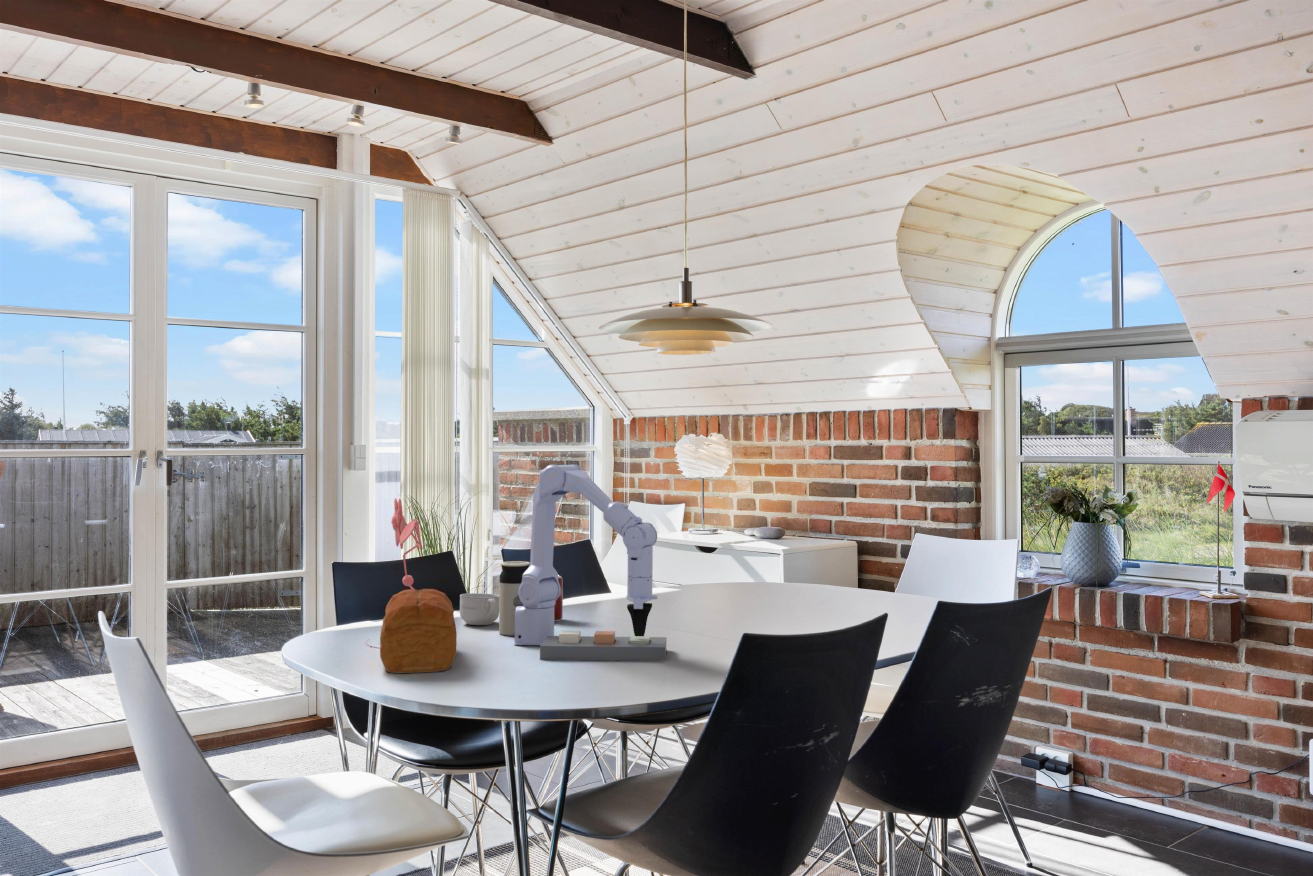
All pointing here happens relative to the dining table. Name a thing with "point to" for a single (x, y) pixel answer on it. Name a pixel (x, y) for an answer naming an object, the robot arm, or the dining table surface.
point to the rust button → (604, 637)
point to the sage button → (639, 640)
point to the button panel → (603, 649)
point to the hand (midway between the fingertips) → (639, 635)
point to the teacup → (479, 608)
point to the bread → (418, 632)
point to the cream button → (570, 637)
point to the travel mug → (510, 594)
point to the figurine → (404, 537)
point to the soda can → (559, 603)
